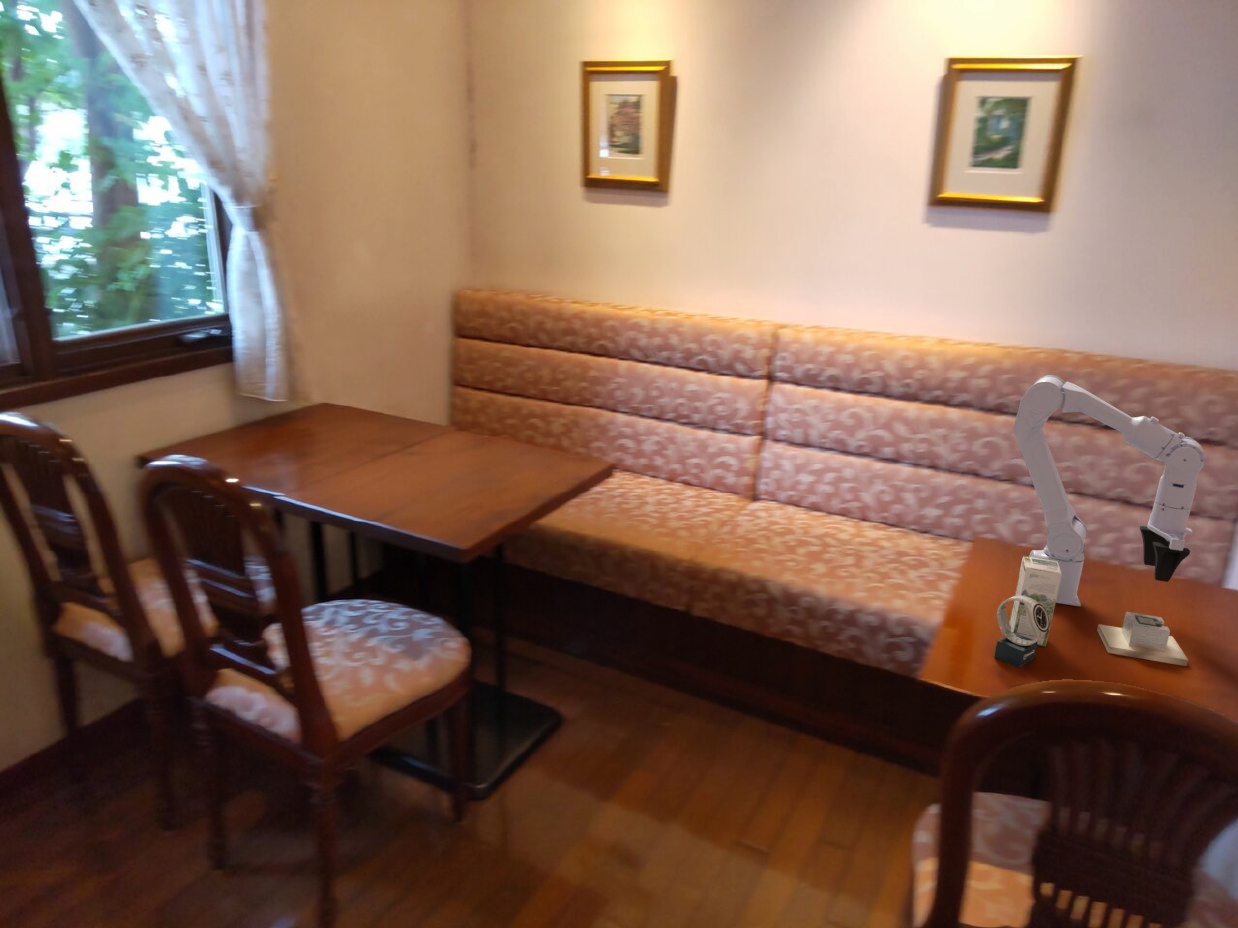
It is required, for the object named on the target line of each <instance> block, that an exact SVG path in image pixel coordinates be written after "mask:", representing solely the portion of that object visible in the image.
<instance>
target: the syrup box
mask: <svg viewBox="0 0 1238 928" xmlns="http://www.w3.org/2000/svg"><path fill="white" fill-rule="evenodd" d="M1061 577H1062V573H1061V570H1060V567H1059V564H1058V562H1057V561H1053V560H1046V559H1040V558H1033V557H1029V556H1026V555H1025V556H1024V555H1023V556H1022V560H1021V564H1020V569H1019V573H1018V579H1017V583H1016V589H1015V593H1014V596H1018V595H1023V596H1027V597H1030V598H1032V599H1034V600H1036V601H1037V602H1038V603H1040V604H1042V605H1043V606H1044V608H1045V609H1046V611H1047V614H1048V617H1049V629H1048V631H1047V632H1046V633H1045V635H1044V637H1042V638H1041V639H1040V640H1038V641H1037V642H1038V643H1037V646H1040V647H1046V646H1047V642H1048V638H1049V634H1050V630H1051V624H1052V621H1053V616H1054V612H1055V607H1056V604H1057V603H1056V599H1057V594H1058V590H1059V586H1060V581H1061ZM1024 604H1025V603H1023V602H1020V601H1017V600H1016V601H1015V600H1013V602H1012V608H1011V613H1010V618H1009V623H1010V626H1011V628H1012V629H1011V631H1012V632H1014V633H1017V634H1019V635H1022V636H1024V637H1027V638H1029V639H1032V640H1035V639H1036V638H1035V635H1034V631H1032V629H1031V628H1030V627H1029V624H1028V622H1027V618H1026V609H1025V607H1024Z"/></svg>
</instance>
